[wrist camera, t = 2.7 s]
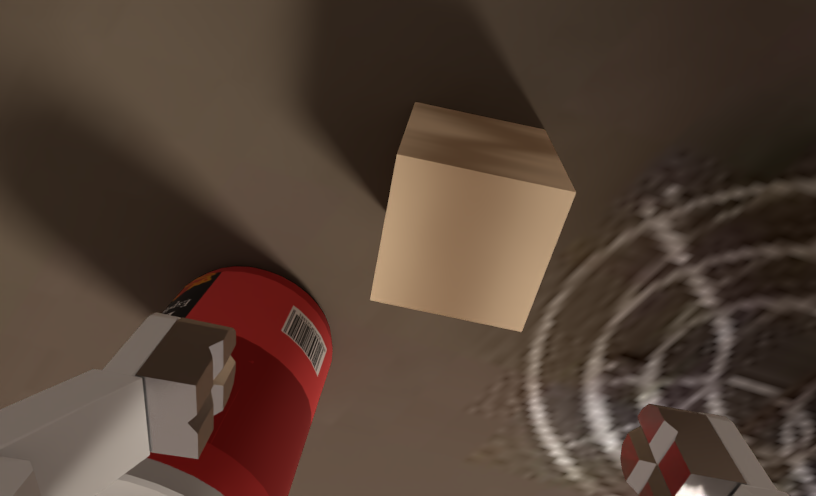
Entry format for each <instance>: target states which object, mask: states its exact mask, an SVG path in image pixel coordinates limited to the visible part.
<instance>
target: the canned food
mask: <svg viewBox="0 0 816 496" xmlns="http://www.w3.org/2000/svg"><path fill="white" fill-rule="evenodd" d="M162 314H166V315H171V316H176V317H180V318H182V317H183V318H188V319H193V320H198V321H203V322H207V323H212V324H217V325H222V326H227V327H232V328H234V329H235V331H236V345H235V347H234V349H233V351H232V353H231V356H232V358H233V359H234V360H235V362H236V370H235V377H234V383H233V387H232V390H231V393H230V396H229V399H228V401H227V403H226V405H225V407H224V409H223V411H221V412H219V413H218V414H216V415H214V429H213V431H212V433H211V435H210V437H209V439H208V441H207V443H206V445H205V447H204V449H203V451H202V453H201V455H200V457H199V459H194V458H187V457H180V456H173V455H166V454H159V453H152V452H150V455H149V456H148V457H147V458H145V459H144V460H143V461H141V462H140V463H139V464H137V465H136V466H135V467H133V468H132V469H130V470H129V471H128V472H126V473H125V474H124V475H122V476H121V477H120V478H118V479H117V480H115V481H114V482H113V483H111V484H110V485H109V486H107V487H106V488H105V489H103V490H102V491H101V492H99V493H98V494H96V495H95V496H288V494H289V491H290V488H291V485H292V482H293V478H294V475H295V472H296V469H297V466H298V463H299V460H300V457H301V454H302V451H303V448H304V445H305V441H306V438H307V435H308V432H309V429H310V426H311V423H312V420H313V417H314V414H315V411H316V408H317V404H318V401H319V398H320V395H321V392H322V389H323V386H324V383H325V380H326V377H327V374H328V370H329V367H330V364H331V361H332V339H331V333H330V327H329V324H328V322H327V320H326V317H325V315H324V313H323V312H322V310H321V309H320V307H319V306H318V304H317V303H316V302H315V301H314V300H313V299H312V298H311V297H310V296H309V295H308V294H307V293H306V292H305V291H304V290H302V289H301V288H300V287H298V286H297V285H296V284H295V283H293V282H291V281H289V280H287V279H285V278H284V277H282V276H280V275H277V274H274V273H272V272H269V271H266V270H262V269H257V268H253V267H239V266H233V267H226V268H220V269H217V270H215V271H212V272H209V273H207V274H205V275H203V276H201V277H199V278H197V279H195V280H194V281H192V282H191V283H189V284H188V285H186V286H185V287H184V289H183V290H182V291H181V292H180V293H179V294H178V295H177V297H176V298H175V299H174V300H173V301H172V302H171V303H170V305H169V306H168V307H167V308H166V309H165V310H164V311H163V313H162Z"/></svg>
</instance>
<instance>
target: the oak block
mask: <svg viewBox="0 0 816 496" xmlns="http://www.w3.org/2000/svg"><path fill="white" fill-rule="evenodd" d="M575 194H576V191H575V189H574V187H573V185H572V183H571V181H570V179H569V177H568V175H567V173H566V171H565V169H564V167H563V165H562V163H561V161H560V159H559V157H558V155H557V153H556V151H555V149H554V147H553V145H552V143H551V140H550V138H549V136H548V134H547V132H546V130H544V129H540V128H535V127H530V126H526V125H521V124H516V123H512V122H507V121H502V120H498V119H493V118H488V117H484V116H479V115H475V114H470V113H465V112H461V111H456V110H451V109H447V108H442V107H437V106H433V105H428V104H423V103H419V102H415V103H414V106H413V109H412V112H411V115H410V118H409V121H408V124H407V126H406V129H405V132H404V135H403V138H402V141H401V144H400V147H399V149H398V152H397V156H396V162H395V167H394V173H393V178H392V183H391V189H390V194H389V200H388V205H387V211H386V216H385V221H384V227H383V232H382V238H381V243H380V249H379V254H378V259H377V265H376V270H375V276H374V281H373V287H372V292H371V297H370V300H372V301H377V302H382V303H386V304H391V305H396V306H401V307H405V308H410V309H415V310H420V311H424V312H429V313H434V314H439V315H443V316H448V317H453V318H458V319H462V320H467V321H472V322H477V323H481V324H486V325H491V326H496V327H500V328H505V329H510V330H515V331H519V332H522V330H523V327H524V324H525V322H526V319H527V317H528V314H529V312H530V309H531V307H532V304H533V302H534V299H535V296H536V294H537V291H538V289H539V286H540V284H541V281H542V279H543V276H544V273H545V271H546V268H547V266H548V263H549V261H550V258H551V256H552V253H553V251H554V248H555V245H556V243H557V240H558V238H559V235H560V233H561V230H562V228H563V225H564V222H565V220H566V217H567V215H568V212H569V210H570V207H571V205H572V202H573V199H574V197H575Z"/></svg>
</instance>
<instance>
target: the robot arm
mask: <svg viewBox="0 0 816 496" xmlns="http://www.w3.org/2000/svg"><path fill="white" fill-rule="evenodd" d="M235 345H236V331H235V329H234V328H232V327H227V326H222V325H217V324H212V323H207V322H203V321H198V320H193V319H188V318H183V317H182V318H180V317H176V316H171V315H166V314H161V313H157V312H156V313H154V314H152V315H150V316H148V317H147V318H146V320H145V321H144V322H143V323H142V324H141V325H140V327H139V328H138V329H137V330H136V331H135V332H134V333H133V335H132V336H131V337H130V338H129V339H128V340H127V342H126V343H125V344H124V345H123V346H122V347H121V349H120V350H119V351H118V352H117V353H116V354H115V355H114V357H113V358H112V359H111V360H110V361H109V362H108V364H107V365H106V366H105V367H104V368H103V369H102V370H96V369H92V370H90V371H88V372H85V373H83V374H81V375H78V376H76V377H74V378H71V379H69V380H67V381H65V382H62V383H60V384H58V385H55V386H53V387H51V388H49V389H46V390H44V391H42V392H39V393H37V394H35V395H32V396H30V397H28V398H26V399H23V400H21V401H19V402H16V403H14V404H12V405H10V406H7V407H5V408H3V409H0V496H95V495H96V494H98V493H99V492H101V491H102V490H103V489H105V488H106V487H107V486H109V485H110V484H111V483H113V482H114V481H115V480H117V479H118V478H120V477H121V476H122V475H124V474H125V473H126V472H128V471H129V470H130V469H132V468H133V467H135V466H136V465H137V464H139V463H140V462H141V461H143V460H144V459H145V458H147V457H148V456H149V455H150V452H152V453H159V454H166V455H173V456H180V457H187V458H194V459H199V457H200V455H201V453H202V451H203V449H204V447H205V445H206V443H207V441H208V439H209V437H210V435H211V433H212V431H213V429H214V415H216V414H218V413H219V412H221V411H223V409H224V407H225V405H226V403H227V401H228V399H229V396H230V393H231V390H232V387H233V383H234V377H235V370H236V362H235V360H234V359H233V358H232V356H231V353H232V351H233V349H234V347H235ZM638 420H639V423H640V427H638V428H636V429H634V430H632V431H631V432H629V433H628V434H627V436H626V438H625V440H624V442H623V444H622V450H621V466H622V471H623V474H624V477H625V480H626V482H627V483H628V484H629V485H630V486H631V487H632V488H633V489H634V490H635V491H636V492H637V493H638V494H637V496H790V495H789V494H787V493H786V492H782V491H778V490H777V489H776V487H775V486H774V484H773V483H772V481H771V480H770V478H769V477H768V475H767V474H766V472H765V471H764V469H763V468H762V466H761V464H760V463H759V461H758V460H757V458H756V457H755V455H754V454H753V452H752V451H751V449H750V448H749V446H748V445H747V443H746V441H745V440H744V438H743V437H742V435H741V434H740V432H739V431H738V429H737V428H736V426H735V425H734V423H733V422H732V421H731V420H729V419H728V418H727V417H725V416H720V415H714V414H708V413H702V412H699V413H697V412H693V411H688V410H682V409H676V408H670V407H665V406H659V405H653V404H648V405H647V406H645V407H644V408H643V409H642V410H641V412H640V414H639V415H638Z"/></svg>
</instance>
